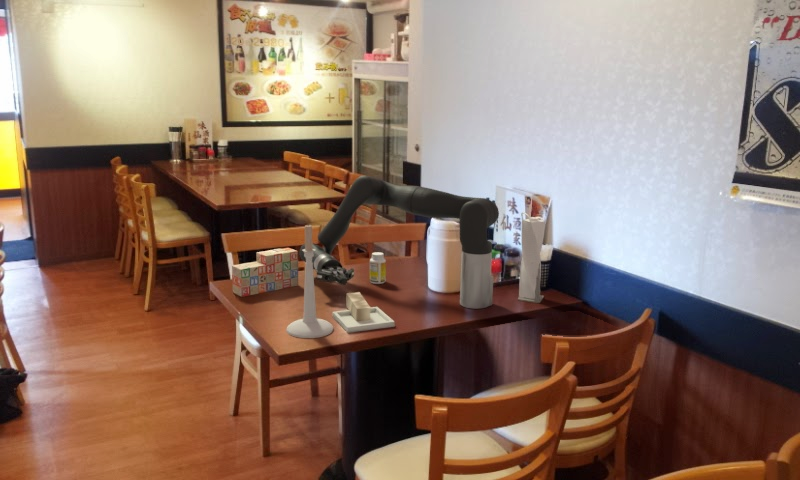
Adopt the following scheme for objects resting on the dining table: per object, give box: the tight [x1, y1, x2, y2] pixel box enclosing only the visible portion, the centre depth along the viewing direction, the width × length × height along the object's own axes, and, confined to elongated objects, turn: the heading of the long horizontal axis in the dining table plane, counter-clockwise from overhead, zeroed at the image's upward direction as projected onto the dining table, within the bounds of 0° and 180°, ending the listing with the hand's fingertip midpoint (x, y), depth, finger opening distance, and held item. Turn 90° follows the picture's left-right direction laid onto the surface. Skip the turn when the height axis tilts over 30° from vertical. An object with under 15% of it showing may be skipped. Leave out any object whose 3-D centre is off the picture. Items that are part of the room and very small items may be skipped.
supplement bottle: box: [369, 251, 387, 285], centre depth 233 cm, size 6×6×10 cm
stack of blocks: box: [231, 247, 299, 297], centre depth 223 cm, size 21×6×12 cm, turn 131°
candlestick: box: [286, 224, 334, 339], centre depth 185 cm, size 13×13×30 cm
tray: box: [332, 306, 396, 333], centre depth 195 cm, size 14×14×2 cm
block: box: [345, 291, 371, 321], centre depth 198 cm, size 4×4×10 cm
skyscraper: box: [517, 211, 546, 304], centre depth 216 cm, size 8×8×28 cm
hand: (344, 281), depth 208 cm, fingers closed
